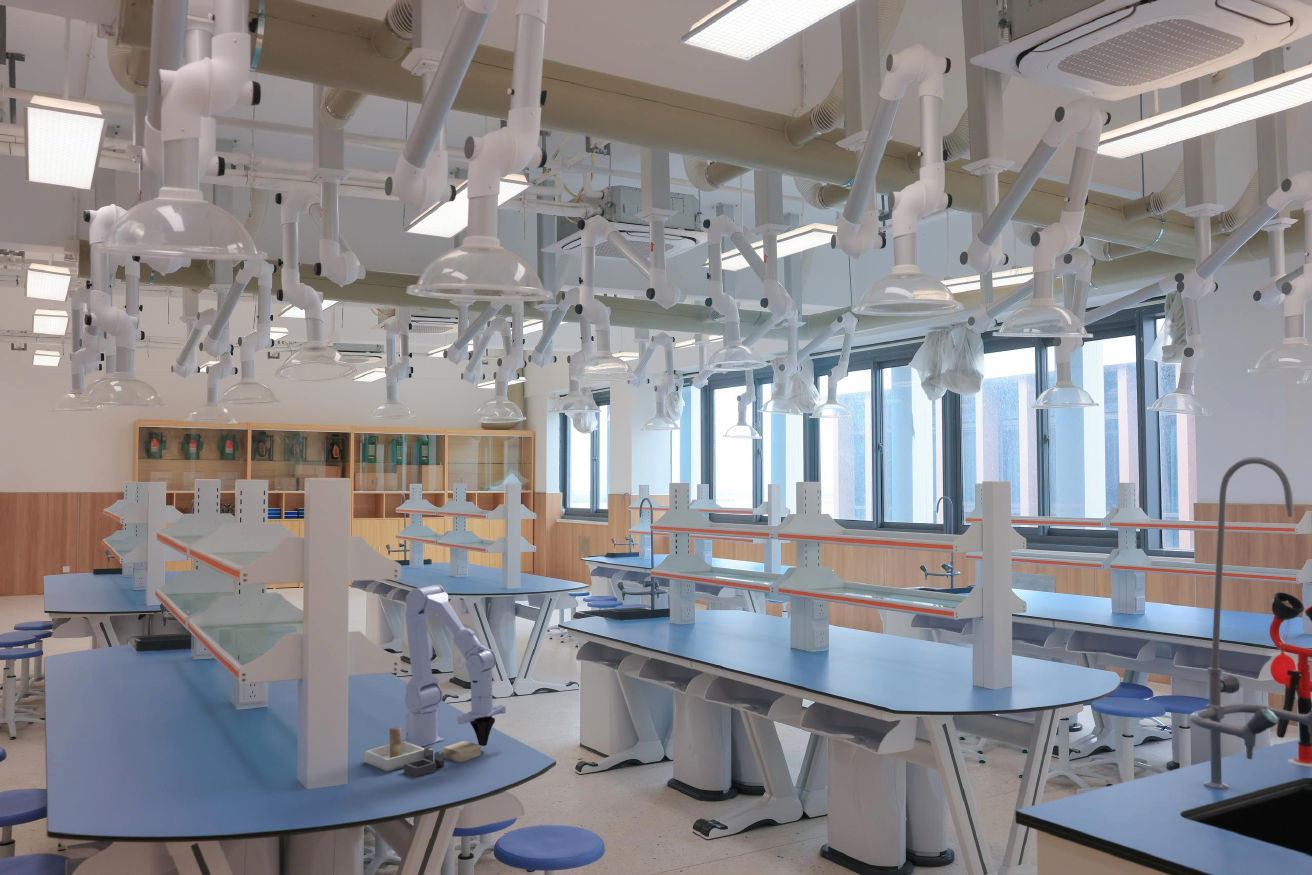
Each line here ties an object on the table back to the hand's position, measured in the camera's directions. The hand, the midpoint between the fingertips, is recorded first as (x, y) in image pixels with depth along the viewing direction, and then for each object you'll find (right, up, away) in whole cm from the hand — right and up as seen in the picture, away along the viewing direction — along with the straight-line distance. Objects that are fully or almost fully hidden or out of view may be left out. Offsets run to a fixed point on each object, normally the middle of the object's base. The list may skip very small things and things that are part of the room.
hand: (482, 744), depth 260 cm
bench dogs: (-11, -2, -11) cm, 16 cm away
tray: (-22, -2, -8) cm, 23 cm away
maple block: (-5, -2, -5) cm, 7 cm away
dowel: (-22, -1, -8) cm, 23 cm away
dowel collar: (-13, -2, -16) cm, 21 cm away
